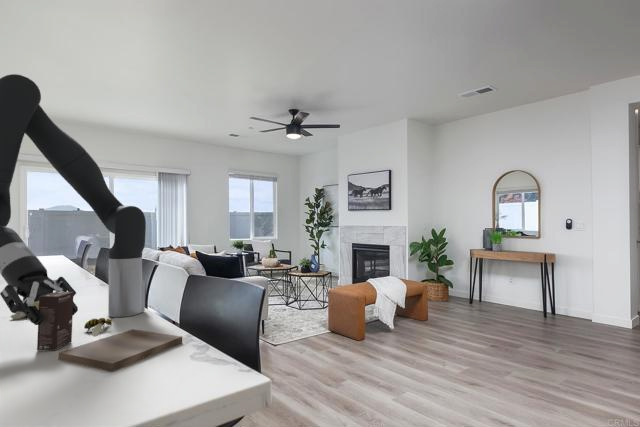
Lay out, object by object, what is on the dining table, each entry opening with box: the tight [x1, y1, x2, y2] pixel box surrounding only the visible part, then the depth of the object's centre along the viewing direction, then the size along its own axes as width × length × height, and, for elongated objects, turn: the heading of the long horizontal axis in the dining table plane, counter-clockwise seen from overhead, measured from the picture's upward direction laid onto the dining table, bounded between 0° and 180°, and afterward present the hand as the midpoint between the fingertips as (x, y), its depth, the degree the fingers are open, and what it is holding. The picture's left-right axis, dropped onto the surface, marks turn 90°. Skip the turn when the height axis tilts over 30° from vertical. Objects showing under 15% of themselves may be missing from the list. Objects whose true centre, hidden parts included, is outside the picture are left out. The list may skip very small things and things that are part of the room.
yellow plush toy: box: [10, 301, 39, 320], centre depth 117 cm, size 10×6×15 cm
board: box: [57, 328, 183, 372], centre depth 83 cm, size 18×16×2 cm
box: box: [36, 291, 74, 352], centre depth 86 cm, size 6×4×12 cm
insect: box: [84, 317, 116, 337], centre depth 99 cm, size 11×6×5 cm, turn 16°
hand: (58, 317), depth 86 cm, fingers open, 8 cm apart
